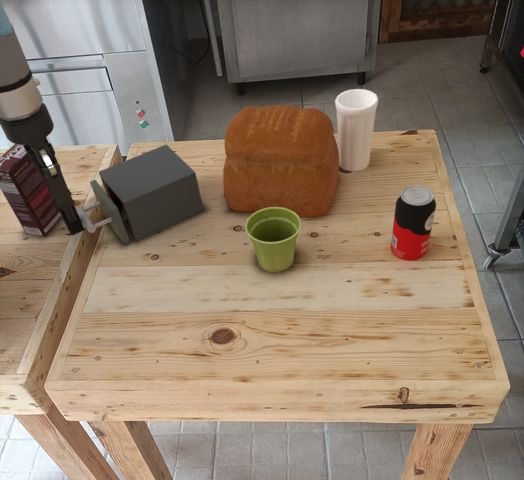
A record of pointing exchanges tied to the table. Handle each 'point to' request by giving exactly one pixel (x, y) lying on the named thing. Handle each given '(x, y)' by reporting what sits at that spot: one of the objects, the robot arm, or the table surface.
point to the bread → (281, 160)
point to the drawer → (106, 212)
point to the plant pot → (274, 236)
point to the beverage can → (413, 222)
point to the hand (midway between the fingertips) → (77, 230)
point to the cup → (355, 127)
